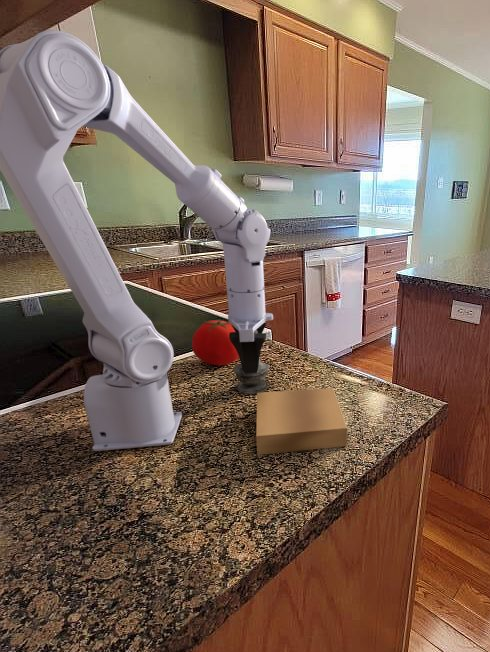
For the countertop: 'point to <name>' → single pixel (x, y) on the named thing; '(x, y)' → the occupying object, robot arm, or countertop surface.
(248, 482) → the countertop surface
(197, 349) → the tomato
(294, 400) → the block
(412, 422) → the countertop surface
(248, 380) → the grey chess piece
